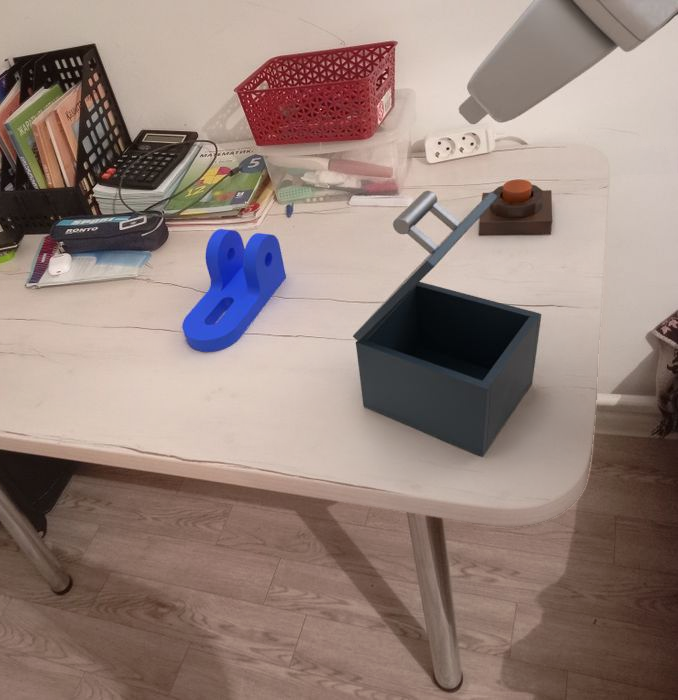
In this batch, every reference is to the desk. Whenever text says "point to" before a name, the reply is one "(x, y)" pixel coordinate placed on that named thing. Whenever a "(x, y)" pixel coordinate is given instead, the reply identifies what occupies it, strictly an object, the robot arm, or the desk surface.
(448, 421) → the open box
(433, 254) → the box lid
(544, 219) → the control block
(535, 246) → the desk surface
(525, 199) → the button
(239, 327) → the bracket
